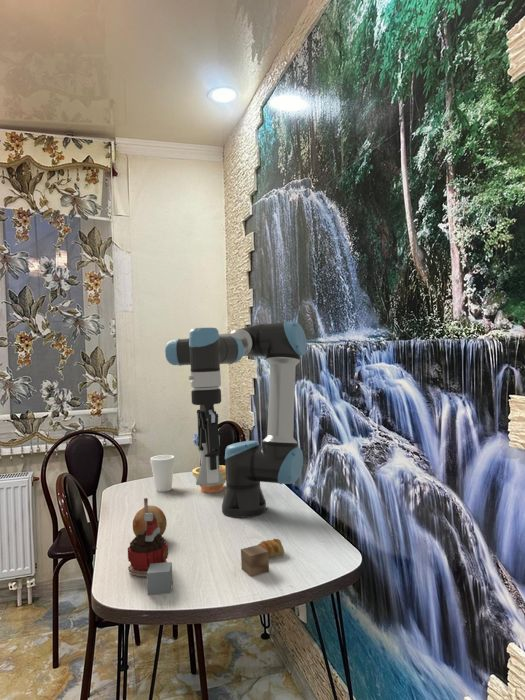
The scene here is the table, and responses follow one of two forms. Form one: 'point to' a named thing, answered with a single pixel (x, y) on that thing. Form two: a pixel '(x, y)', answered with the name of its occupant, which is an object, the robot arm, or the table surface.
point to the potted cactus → (221, 467)
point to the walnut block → (254, 560)
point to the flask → (203, 471)
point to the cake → (147, 546)
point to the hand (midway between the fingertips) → (209, 478)
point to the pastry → (273, 548)
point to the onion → (140, 522)
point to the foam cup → (162, 472)
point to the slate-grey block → (159, 578)
